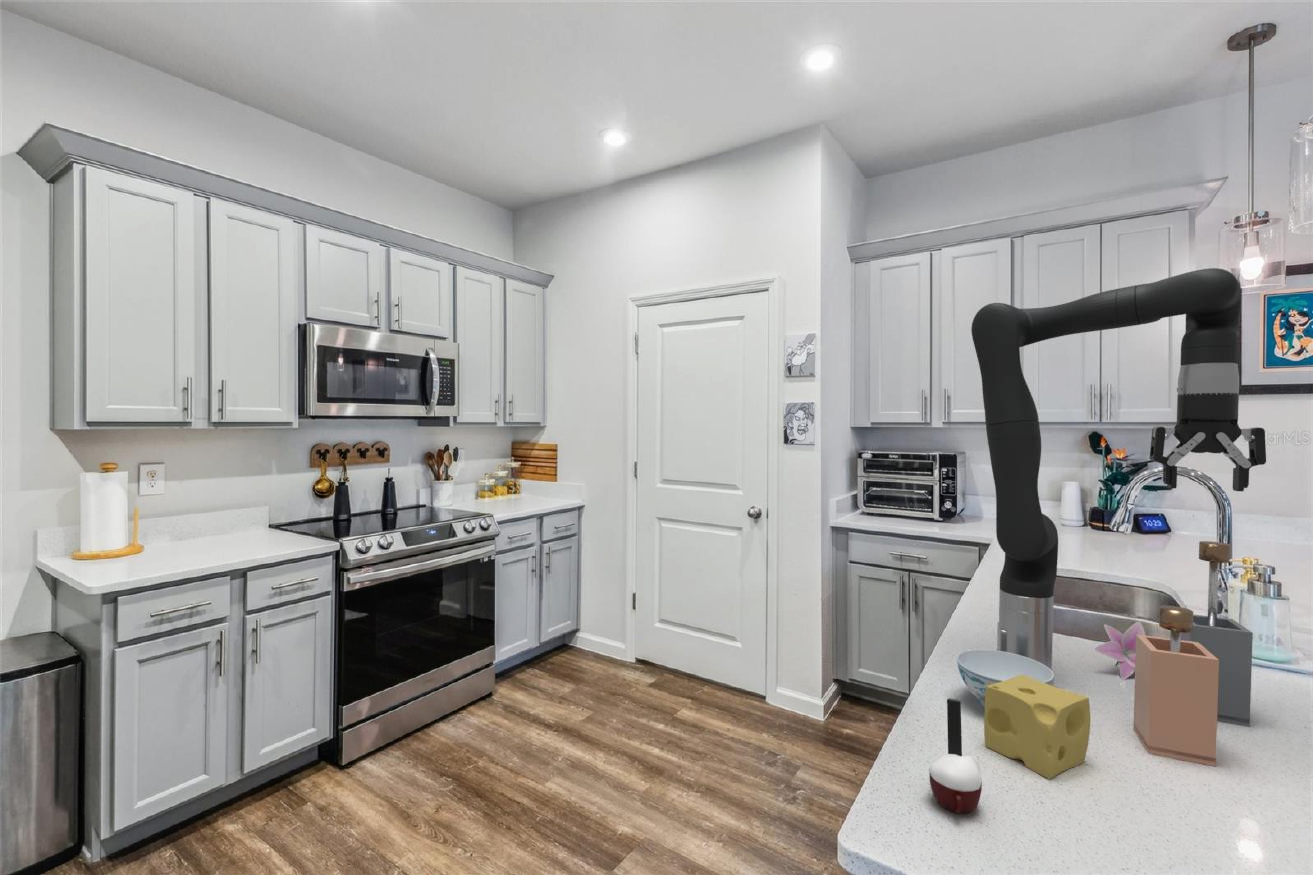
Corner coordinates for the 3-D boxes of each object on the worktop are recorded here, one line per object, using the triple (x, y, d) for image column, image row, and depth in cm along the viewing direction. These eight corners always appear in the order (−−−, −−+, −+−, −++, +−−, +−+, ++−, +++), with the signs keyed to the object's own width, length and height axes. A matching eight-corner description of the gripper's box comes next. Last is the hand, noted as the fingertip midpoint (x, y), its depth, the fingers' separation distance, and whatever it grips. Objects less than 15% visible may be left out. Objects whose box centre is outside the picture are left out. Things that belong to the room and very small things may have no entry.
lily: (1082, 675, 124) (1101, 643, 119) (1086, 638, 132) (1105, 608, 127) (1152, 706, 118) (1175, 675, 113) (1152, 666, 126) (1174, 635, 122)
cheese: (1050, 781, 85) (1052, 712, 85) (979, 745, 95) (980, 682, 94) (1090, 763, 90) (1092, 697, 90) (1019, 730, 100) (1020, 670, 99)
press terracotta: (1148, 753, 93) (1150, 650, 92) (1133, 729, 100) (1136, 634, 99) (1215, 766, 89) (1218, 660, 89) (1195, 740, 96) (1198, 642, 96)
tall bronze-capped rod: (1198, 637, 105) (1201, 544, 104) (1187, 628, 109) (1190, 539, 109) (1237, 642, 102) (1240, 547, 102) (1224, 632, 107) (1227, 542, 107)
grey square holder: (1188, 716, 104) (1191, 625, 104) (1172, 697, 112) (1175, 612, 111) (1249, 726, 101) (1252, 632, 101) (1229, 706, 108) (1232, 618, 108)
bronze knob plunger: (1157, 715, 93) (1160, 611, 93) (1147, 701, 98) (1150, 602, 97) (1200, 723, 91) (1204, 616, 90) (1188, 708, 96) (1191, 607, 95)
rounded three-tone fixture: (969, 833, 75) (973, 741, 74) (917, 808, 79) (921, 721, 78) (991, 796, 82) (996, 711, 81) (943, 775, 86) (946, 695, 85)
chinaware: (937, 697, 111) (938, 656, 111) (993, 684, 117) (994, 644, 117) (1013, 736, 97) (1014, 689, 97) (1073, 719, 103) (1074, 674, 103)
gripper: (1160, 391, 99) (1157, 489, 100) (1276, 390, 93) (1273, 494, 93) (1146, 393, 106) (1144, 485, 106) (1254, 392, 100) (1251, 489, 100)
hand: (1204, 489), depth 100 cm, fingers open, 8 cm apart
